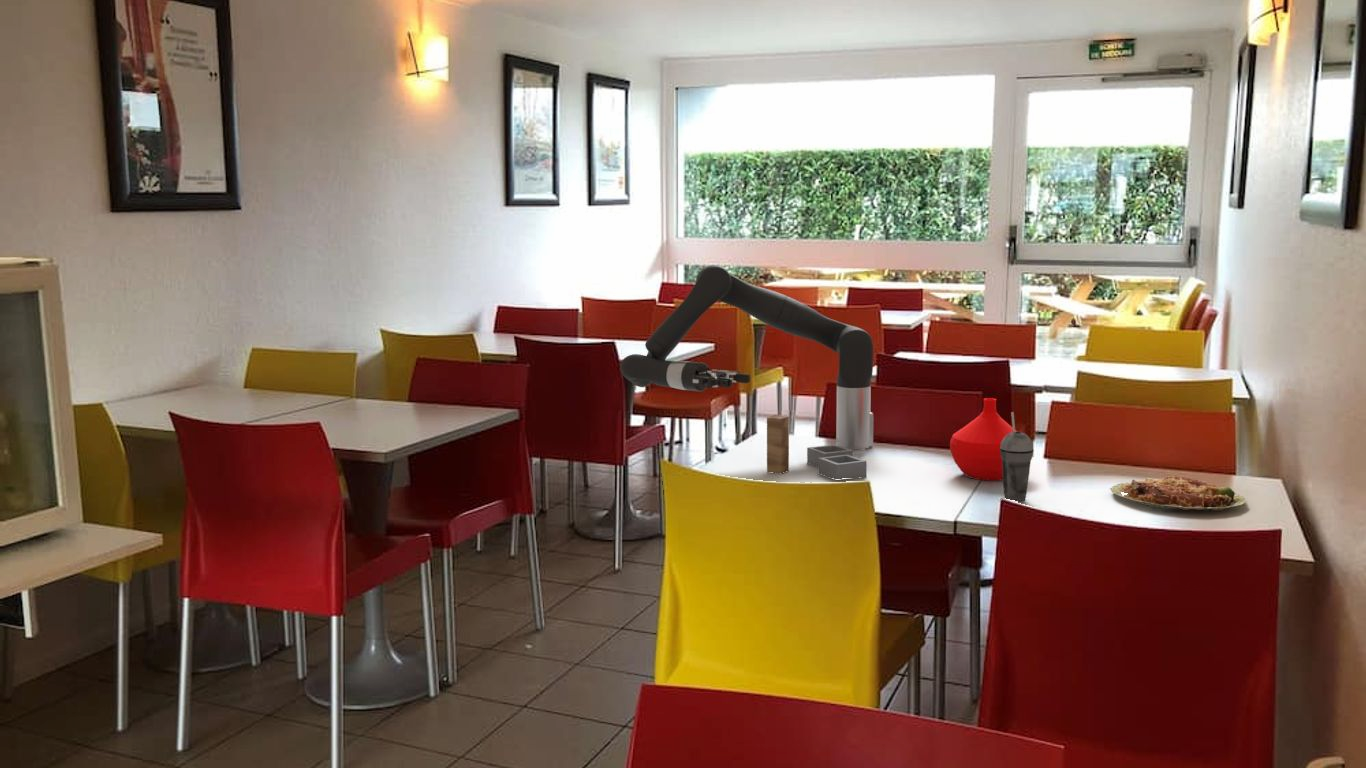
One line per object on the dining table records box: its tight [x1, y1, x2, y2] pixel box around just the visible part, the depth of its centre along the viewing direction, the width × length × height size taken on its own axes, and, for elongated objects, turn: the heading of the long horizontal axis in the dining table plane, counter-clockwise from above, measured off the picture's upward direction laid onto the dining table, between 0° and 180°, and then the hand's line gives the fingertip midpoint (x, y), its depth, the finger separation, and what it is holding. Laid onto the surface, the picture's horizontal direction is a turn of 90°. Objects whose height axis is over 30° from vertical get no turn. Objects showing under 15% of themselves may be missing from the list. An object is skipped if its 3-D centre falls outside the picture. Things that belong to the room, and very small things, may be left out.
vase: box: [949, 397, 1019, 482], centre depth 269 cm, size 18×18×19 cm
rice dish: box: [1109, 475, 1247, 512], centre depth 246 cm, size 28×28×5 cm
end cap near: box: [817, 455, 868, 482], centre depth 272 cm, size 8×8×4 cm
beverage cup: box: [1000, 411, 1034, 503], centre depth 246 cm, size 7×7×20 cm
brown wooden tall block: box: [766, 414, 790, 474], centre depth 276 cm, size 4×4×14 cm
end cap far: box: [806, 444, 854, 468], centre depth 285 cm, size 8×8×4 cm
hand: (740, 381), depth 280 cm, fingers open, 8 cm apart
